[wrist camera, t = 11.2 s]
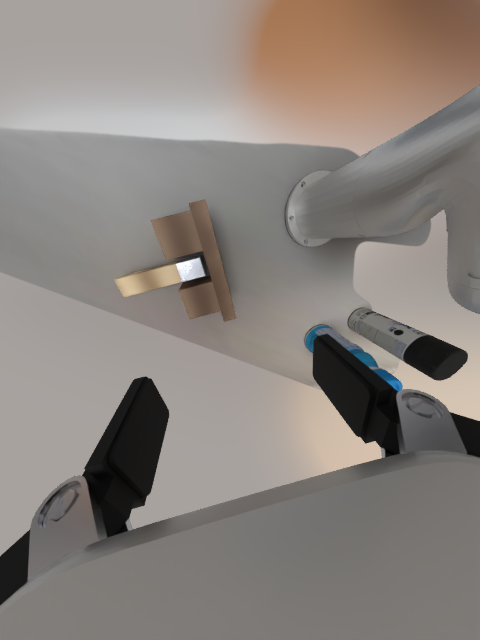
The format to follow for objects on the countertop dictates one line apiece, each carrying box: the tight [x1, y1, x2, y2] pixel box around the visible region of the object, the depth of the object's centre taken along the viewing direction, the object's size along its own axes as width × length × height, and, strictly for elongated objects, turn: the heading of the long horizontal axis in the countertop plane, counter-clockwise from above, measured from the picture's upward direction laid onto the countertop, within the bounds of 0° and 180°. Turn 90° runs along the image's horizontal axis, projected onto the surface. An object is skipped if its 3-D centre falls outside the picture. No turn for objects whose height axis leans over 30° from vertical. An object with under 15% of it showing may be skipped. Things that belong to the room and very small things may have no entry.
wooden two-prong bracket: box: [151, 200, 236, 322], centre depth 29 cm, size 8×16×12 cm, turn 13°
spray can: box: [348, 308, 468, 380], centre depth 38 cm, size 7×7×20 cm
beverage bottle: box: [305, 325, 402, 392], centre depth 38 cm, size 8×8×20 cm
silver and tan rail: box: [115, 255, 205, 297], centre depth 31 cm, size 14×3×6 cm, turn 103°
